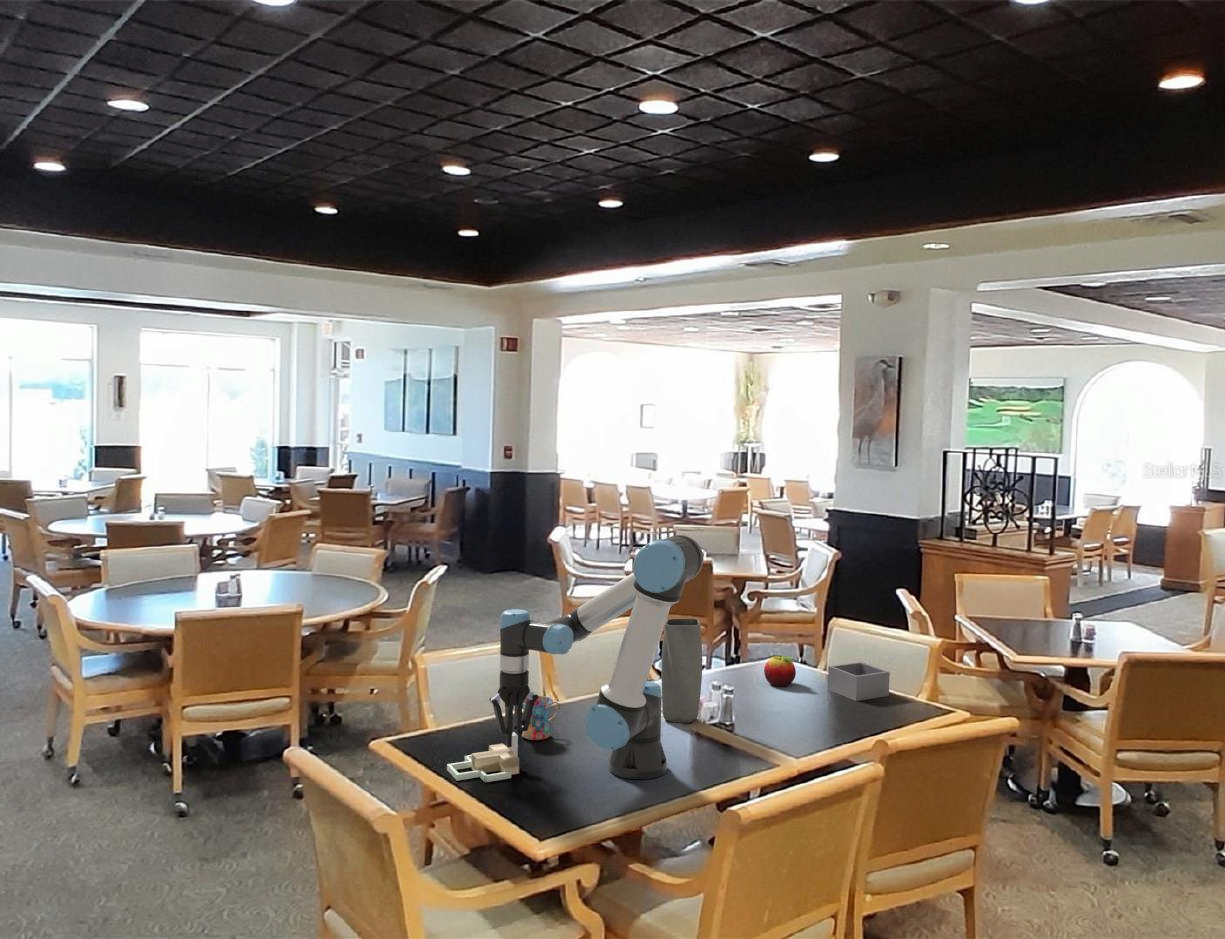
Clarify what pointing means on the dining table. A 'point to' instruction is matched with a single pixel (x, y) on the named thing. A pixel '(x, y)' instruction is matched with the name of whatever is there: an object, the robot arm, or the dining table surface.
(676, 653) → the vase
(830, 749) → the dining table surface
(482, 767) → the t block
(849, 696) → the box
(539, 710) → the mug
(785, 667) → the fruit
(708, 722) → the dining table surface
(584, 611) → the robot arm
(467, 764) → the jig
